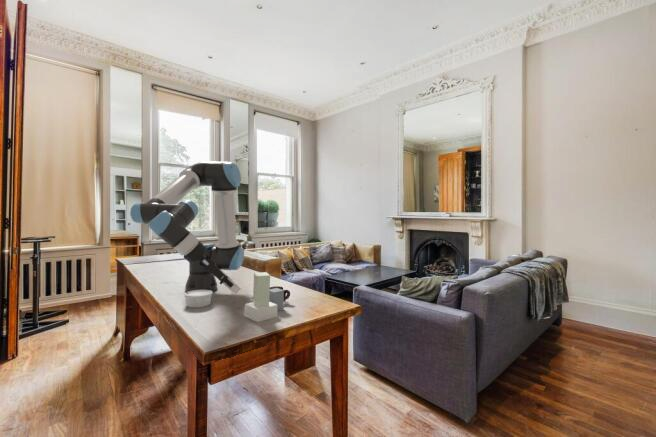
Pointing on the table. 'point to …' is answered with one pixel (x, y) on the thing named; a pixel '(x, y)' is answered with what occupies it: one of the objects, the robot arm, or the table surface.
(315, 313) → the table surface
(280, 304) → the slate block
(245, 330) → the table surface
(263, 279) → the sage block
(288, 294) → the pottery mug
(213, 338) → the table surface
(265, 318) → the base block
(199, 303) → the ramekin
